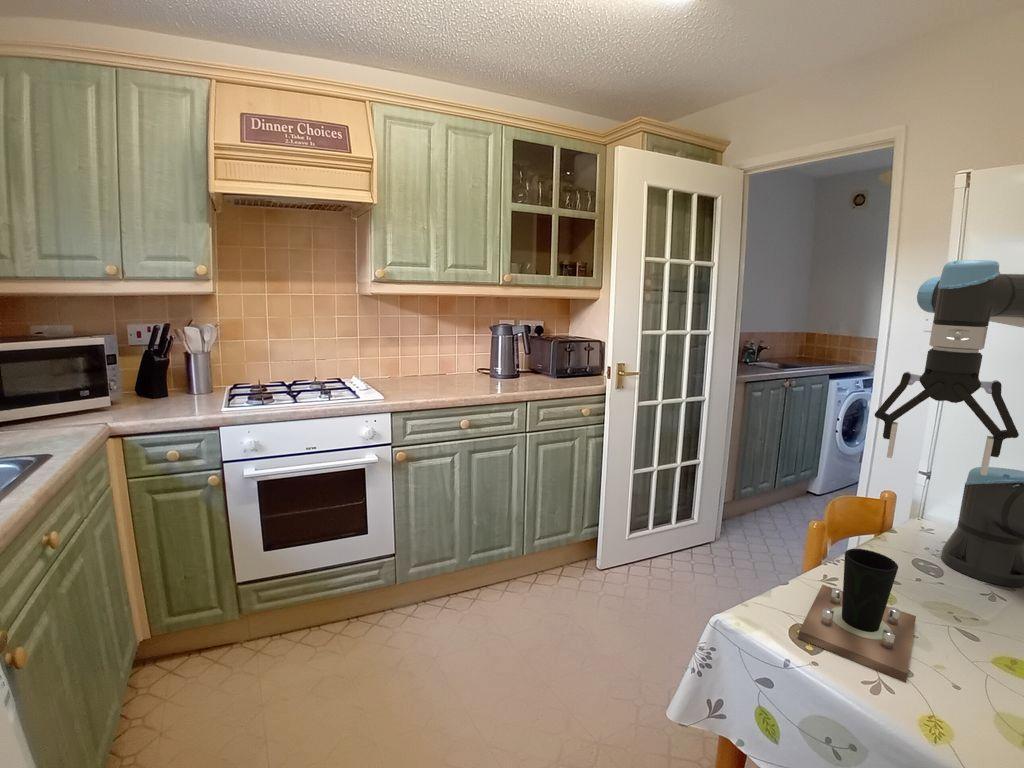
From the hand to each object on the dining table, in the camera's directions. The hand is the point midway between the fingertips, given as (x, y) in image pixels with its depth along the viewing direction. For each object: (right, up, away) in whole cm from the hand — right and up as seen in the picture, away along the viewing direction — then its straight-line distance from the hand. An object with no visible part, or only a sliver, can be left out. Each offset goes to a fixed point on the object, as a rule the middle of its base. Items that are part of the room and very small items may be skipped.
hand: (934, 464), depth 97 cm
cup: (-16, -27, -4) cm, 32 cm away
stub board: (-17, -29, -4) cm, 33 cm away
